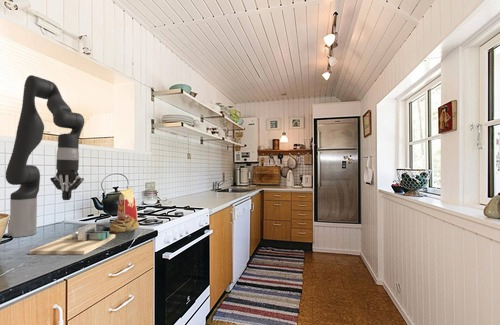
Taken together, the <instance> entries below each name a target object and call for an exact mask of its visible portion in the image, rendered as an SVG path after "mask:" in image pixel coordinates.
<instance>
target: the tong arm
mask: <svg viewBox="0 0 500 325" xmlns="http://www.w3.org/2000/svg"><path fill="white" fill-rule="evenodd" d="M76 239H78V233H76ZM87 239H92V240H104V239H106V233H87Z"/></svg>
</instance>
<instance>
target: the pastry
mask: <svg viewBox="0 0 500 325" xmlns="http://www.w3.org/2000/svg"><path fill="white" fill-rule="evenodd" d="M137 220H138V218H137V219H133V218H132V217H130V216H129V215H121V216H120V217H118V218H115V220H113V221H112V222H111V224H110V228H109V230H108V231H109V233H110V234H111V233H112V234H123V233H127V232H131V231H135V230H138V229H139V227H140V224H139V222H138V221H137Z"/></svg>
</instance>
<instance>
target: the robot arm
mask: <svg viewBox="0 0 500 325" xmlns="http://www.w3.org/2000/svg"><path fill="white" fill-rule="evenodd" d="M36 98H40V99H42V100H47V101H46V107H47V109H48V110H49V112H50V113H51V114H52V118H53V119H52V120H53V121H52V122H53V124H54V125H55V126H57V127H59V128H63V129H71V130H70V132H68V133H60V134H59V135H58V138H57V151H56V162H55V165H56V168H55V169H56V174H55V175H54V176H53V177H50V178H49V180H50V181H51V183H52V184H53V185H54V187H55V188H56V189H57V190H58V191H59V190H60V191H61V193H62V194H61V198H62V200H63V201H69V200H71V199H72V191H74V190H77V189H78V188H79V187H80V185H81V184H82V183H83V181H85V179H84V178H83V177H81V176H80V174H79V168H80V166H79V164H80V150H79V148H80V147H79V144H80V143H79V142H80V136H81V134H82V131H83V128H84V126H85V118H84V116H83V115H82V114H81V113H79V112H74V111H72V108H71V107H70V106H69V104H68V103H67V102H66V101H65V100H64V99H63V96H62V94H61V92H60V90H59V88H58V86H57V85H56V84H55V83H54V82H53V81H51V80H48V79H45V78H42V77H40V76H36V75H32V74H31V75H28V76H27V77H26V80H25V82H24V86H23V95H22V104H21V111H20V117H19V120H18V123H17V127H16V128H17V129H16V133H15V140H14V144H13V148H12V153H11V155H10V157H9V158H10V159H9V161H8V164H7V168H6V170H5V180H6V182H7V183H8V184H9V185H12V186H18V185H19V188H18V189H17V190H16V191H13V192H11V193H10V198H9V200H10V201H9V203H10V205H9V206H10V212H9V215H10V220H9V223H8V222H7V236H8V235H9V236H8V237H10V236H12V237H11V238H22V237H28V236H33V235H35V234H36V233H37V223H38V222H37V220H38V219H37V218H38V216H37V214H38V212H37V211H38V210H37V209H38V208H37V207H38V194H39V192H40V182H41V174H40V173H41V172H40V170H39V168H38V167H37V166H36V165H33V164H29V165H28V164H27V163H28V159H29V157H30V155H31V154H32V153H33V151H34V150H36V148H37V147H38V146H39V144H40V143H41V142H42V140H43V136H44V130H45V124H44V122H43V120H42V117H41V116H40V114H39V113H38V110H37V107H36Z"/></svg>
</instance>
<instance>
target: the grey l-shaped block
mask: <svg viewBox="0 0 500 325" xmlns="http://www.w3.org/2000/svg"><path fill="white" fill-rule="evenodd" d="M77 231H78V241H86V240H87V231H97V224H96V223H89V224H85V225H83V226H81V227H80V226H79V227H78V228H77Z"/></svg>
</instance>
